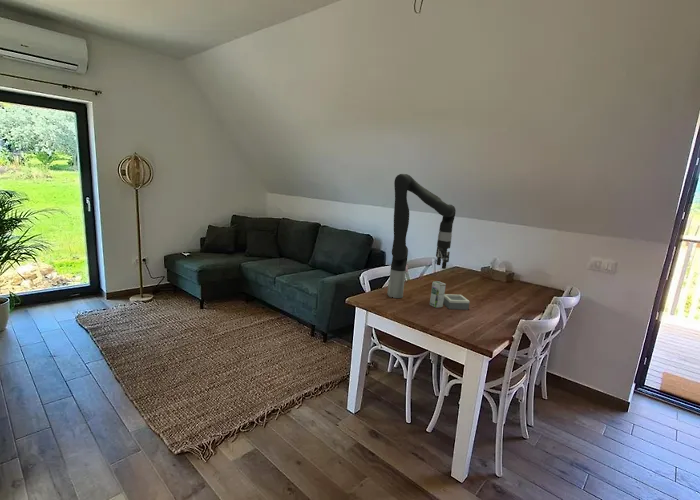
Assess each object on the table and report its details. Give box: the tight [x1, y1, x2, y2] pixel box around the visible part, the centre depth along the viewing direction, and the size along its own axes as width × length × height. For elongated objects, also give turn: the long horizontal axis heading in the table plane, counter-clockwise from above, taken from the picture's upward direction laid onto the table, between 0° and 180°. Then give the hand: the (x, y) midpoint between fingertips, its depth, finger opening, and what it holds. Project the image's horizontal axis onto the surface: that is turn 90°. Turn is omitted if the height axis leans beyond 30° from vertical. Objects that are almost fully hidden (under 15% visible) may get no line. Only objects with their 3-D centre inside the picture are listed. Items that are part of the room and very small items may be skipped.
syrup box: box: [429, 280, 447, 309], centre depth 219 cm, size 6×6×14 cm
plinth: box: [443, 293, 470, 311], centre depth 223 cm, size 12×12×5 cm
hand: (441, 266), depth 216 cm, fingers open, 8 cm apart
